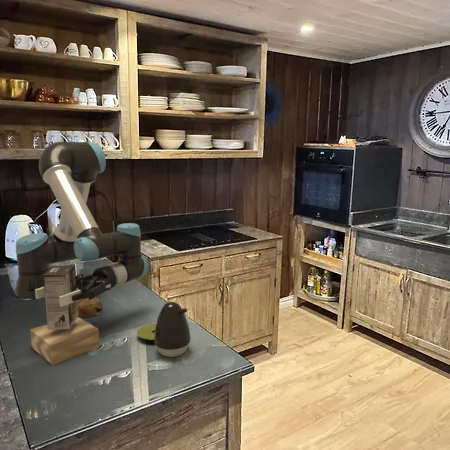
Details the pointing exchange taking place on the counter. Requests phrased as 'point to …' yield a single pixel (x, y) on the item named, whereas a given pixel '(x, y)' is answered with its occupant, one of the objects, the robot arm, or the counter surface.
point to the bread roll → (89, 307)
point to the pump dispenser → (172, 330)
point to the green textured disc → (147, 331)
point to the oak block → (64, 341)
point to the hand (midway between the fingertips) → (48, 297)
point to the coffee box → (54, 288)
